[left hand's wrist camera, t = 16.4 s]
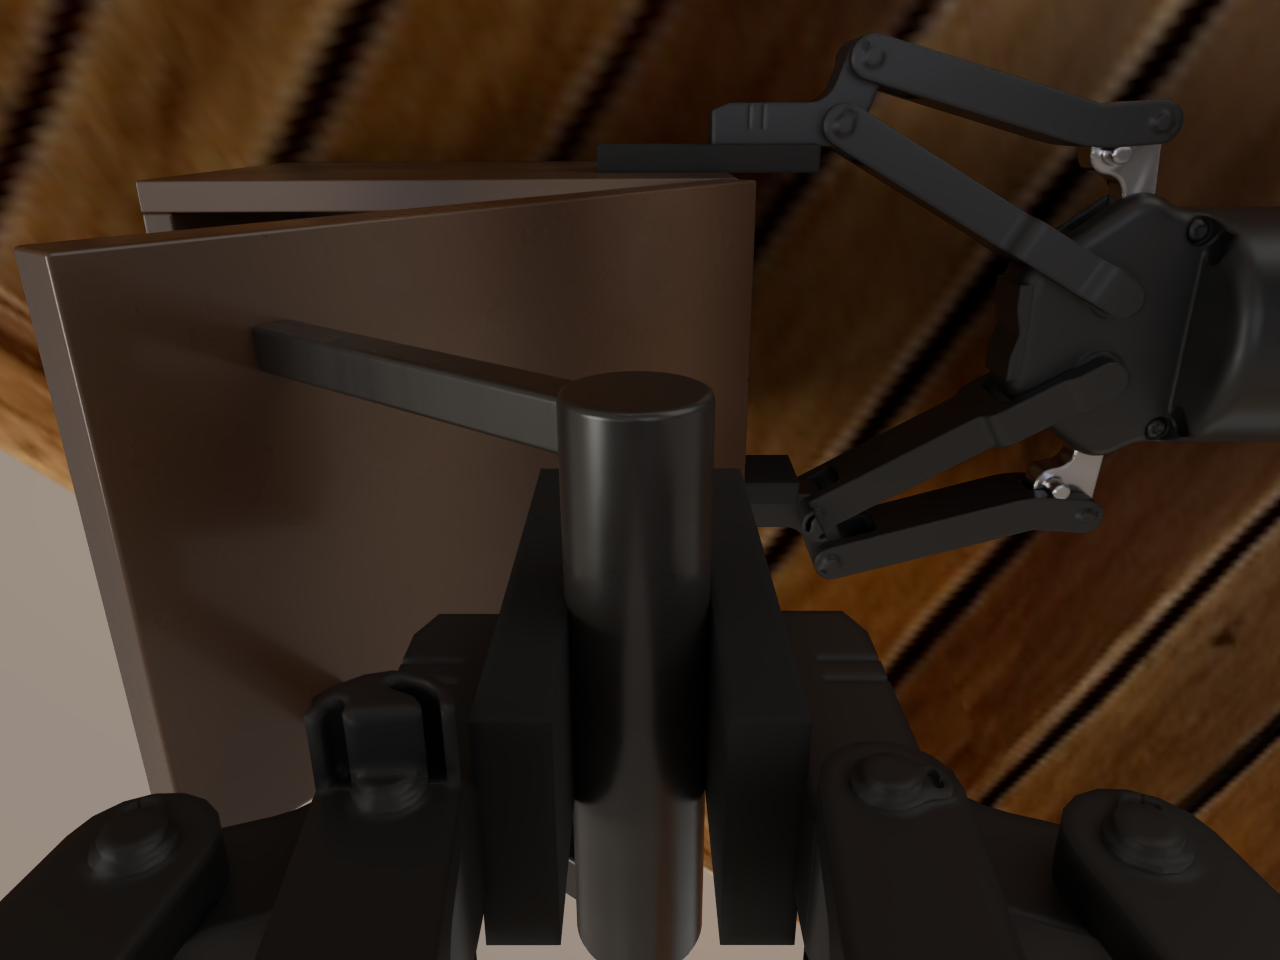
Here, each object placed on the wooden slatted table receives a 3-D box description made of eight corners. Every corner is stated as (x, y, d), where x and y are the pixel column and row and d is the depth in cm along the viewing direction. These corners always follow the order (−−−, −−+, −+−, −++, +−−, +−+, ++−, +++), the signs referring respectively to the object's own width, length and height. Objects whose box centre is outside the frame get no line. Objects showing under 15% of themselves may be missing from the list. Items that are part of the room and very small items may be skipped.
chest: (319, 412, 38) (201, 518, 28) (284, 162, 34) (133, 180, 24) (704, 410, 38) (726, 517, 28) (710, 160, 34) (737, 178, 24)
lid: (162, 844, 15) (545, 1200, 10) (10, 244, 12) (487, 336, 7) (713, 520, 28) (1013, 610, 22) (722, 178, 24) (1082, 192, 19)
